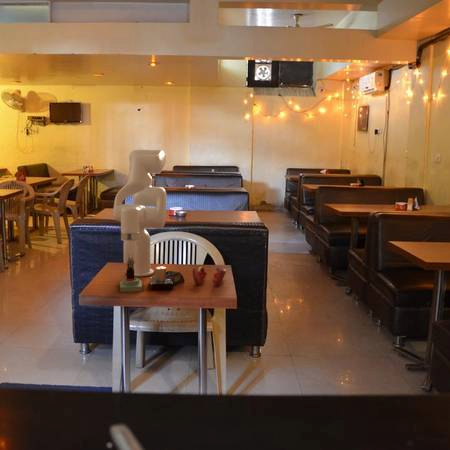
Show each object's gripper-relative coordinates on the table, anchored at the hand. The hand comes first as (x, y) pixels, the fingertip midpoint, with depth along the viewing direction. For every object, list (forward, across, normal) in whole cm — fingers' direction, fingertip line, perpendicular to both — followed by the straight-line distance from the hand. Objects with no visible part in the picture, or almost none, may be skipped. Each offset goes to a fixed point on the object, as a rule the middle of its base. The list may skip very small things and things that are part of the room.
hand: (130, 278), depth 220 cm
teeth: (+5, -4, +35) cm, 36 cm away
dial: (+2, -1, +13) cm, 13 cm away
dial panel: (+5, -1, +13) cm, 14 cm away
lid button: (+2, 0, 0) cm, 2 cm away
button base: (+5, 0, 0) cm, 5 cm away
